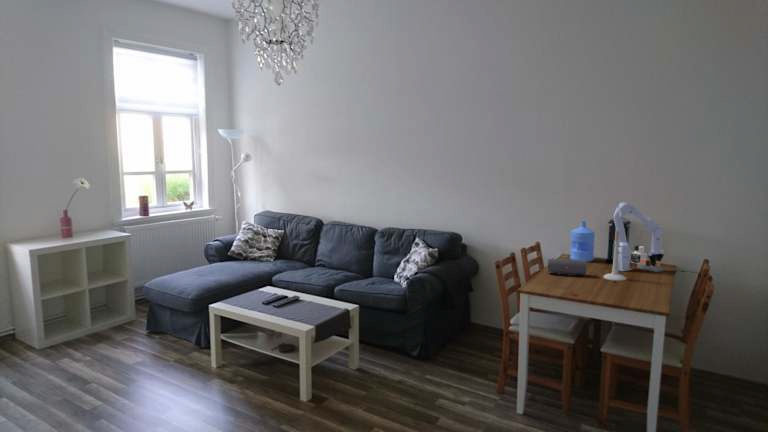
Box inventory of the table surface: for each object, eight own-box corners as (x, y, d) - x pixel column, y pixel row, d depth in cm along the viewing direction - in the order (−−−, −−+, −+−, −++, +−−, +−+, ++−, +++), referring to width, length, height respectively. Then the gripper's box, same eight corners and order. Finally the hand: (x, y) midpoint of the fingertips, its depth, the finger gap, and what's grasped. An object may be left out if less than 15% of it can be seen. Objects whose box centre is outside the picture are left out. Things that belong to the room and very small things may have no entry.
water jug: (577, 256, 366) (578, 219, 362) (597, 259, 354) (599, 221, 351) (566, 259, 356) (567, 221, 353) (586, 263, 344) (588, 223, 341)
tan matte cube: (660, 269, 320) (660, 261, 319) (656, 269, 318) (656, 262, 317) (653, 267, 324) (653, 260, 323) (649, 268, 322) (650, 261, 321)
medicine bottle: (630, 262, 345) (631, 245, 343) (637, 261, 348) (637, 244, 347) (639, 264, 339) (640, 247, 337) (646, 263, 342) (647, 246, 340)
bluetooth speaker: (547, 275, 312) (548, 259, 311) (547, 271, 321) (548, 256, 320) (586, 277, 305) (586, 261, 303) (585, 274, 313) (585, 258, 312)
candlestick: (629, 281, 295) (631, 231, 291) (606, 280, 298) (608, 231, 294) (623, 276, 308) (625, 228, 304) (601, 275, 310) (603, 228, 306)
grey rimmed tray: (663, 270, 320) (664, 261, 319) (657, 272, 316) (657, 263, 316) (643, 266, 332) (643, 257, 331) (636, 267, 328) (637, 259, 328)
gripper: (655, 246, 312) (654, 267, 314) (669, 244, 319) (668, 265, 321) (645, 245, 318) (644, 265, 320) (658, 243, 325) (657, 263, 327)
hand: (655, 265), depth 321 cm, fingers closed on tan matte cube, 4 cm apart
